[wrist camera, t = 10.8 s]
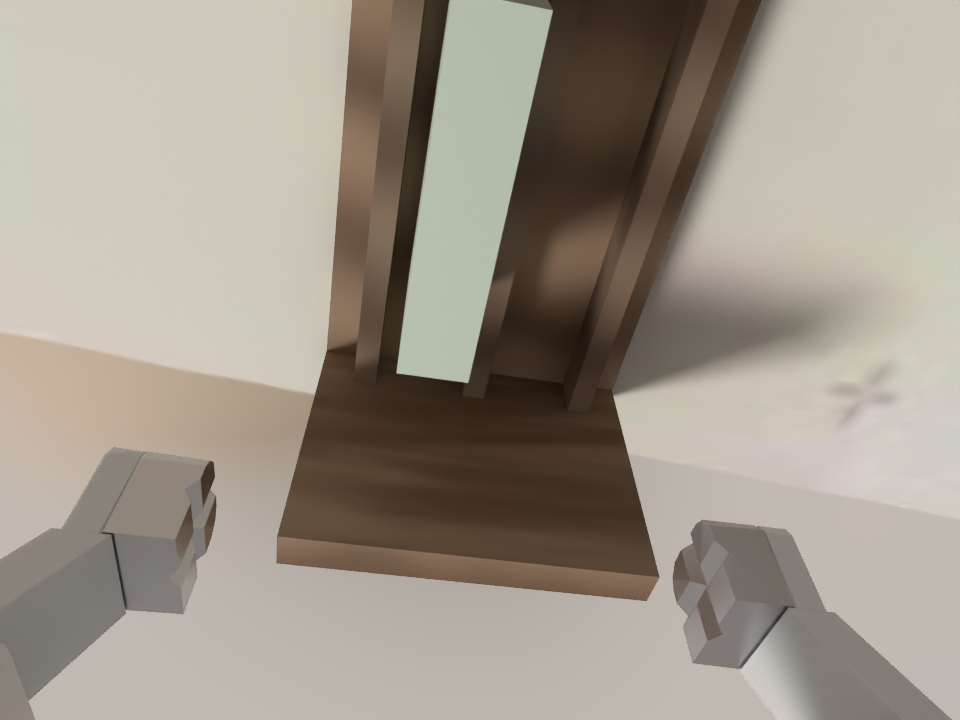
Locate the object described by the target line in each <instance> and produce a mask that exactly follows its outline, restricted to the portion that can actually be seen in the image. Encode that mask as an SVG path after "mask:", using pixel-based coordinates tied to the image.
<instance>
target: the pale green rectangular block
mask: <svg viewBox="0 0 960 720" xmlns="http://www.w3.org/2000/svg"><path fill="white" fill-rule="evenodd" d="M552 12H553V10H552V7H551V5H550V3H549V1H548V0H449V4H448V11H447V17H446V24H445V31H444V38H443V45H442V52H441V58H440V65H439V72H438V79H437V86H436V93H435V99H434V106H433V113H432V120H431V127H430V134H429V140H428V147H427V154H426V161H425V168H424V175H423V181H422V188H421V195H420V202H419V209H418V216H417V222H416V229H415V236H414V243H413V250H412V257H411V264H410V272H409V279H408V287H407V295H406V303H405V310H404V318H403V326H402V334H401V341H400V349H399V357H398V364H397V372H396V373H399V374H406V375H413V376H421V377H428V378H435V379H442V380H450V381H457V382H464V383H468V382H469V378H470V373H471V369H472V364H473V360H474V356H475V351H476V347H477V342H478V338H479V334H480V329H481V325H482V320H483V316H484V312H485V307H486V303H487V298H488V294H489V290H490V285H491V281H492V276H493V272H494V268H495V263H496V259H497V254H498V250H499V246H500V241H501V237H502V232H503V228H504V224H505V219H506V215H507V210H508V206H509V202H510V197H511V193H512V188H513V184H514V180H515V175H516V171H517V166H518V162H519V158H520V153H521V149H522V144H523V140H524V135H525V131H526V127H527V122H528V118H529V113H530V109H531V105H532V100H533V96H534V91H535V87H536V83H537V78H538V74H539V69H540V65H541V61H542V56H543V52H544V47H545V43H546V39H547V34H548V30H549V25H550V21H551V17H552Z"/></svg>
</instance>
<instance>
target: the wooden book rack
mask: <svg viewBox="0 0 960 720" xmlns="http://www.w3.org/2000/svg"><path fill="white" fill-rule="evenodd" d="M548 1H549V3H550V5H551V7H552V10H553V12H552V17H551V21H550V25H549V30H548V34H547V39H546V43H545V47H544V52H543V56H542V61H541V65H540V69H539V74H538V78H537V83H536V87H535V91H534V96H533V100H532V105H531V109H530V113H529V118H528V122H527V127H526V131H525V135H524V140H523V144H522V149H521V153H520V158H519V162H518V166H517V171H516V175H515V180H514V184H513V188H512V193H511V197H510V202H509V206H508V210H507V215H506V219H505V224H504V228H503V232H502V237H501V241H500V246H499V250H498V254H497V259H496V263H495V268H494V272H493V276H492V281H491V285H490V290H489V294H488V298H487V303H486V307H485V312H484V316H483V320H482V325H481V329H480V334H479V338H478V342H477V347H476V351H475V356H474V360H473V364H472V369H471V373H470V378H469V382H468V383H464V382H457V381H450V380H442V379H435V378H428V377H421V376H413V375H406V374H399V373H396V372H397V364H398V357H399V349H400V341H401V334H402V326H403V318H404V310H405V303H406V295H407V287H408V279H409V272H410V264H411V257H412V250H413V243H414V236H415V229H416V222H417V216H418V209H419V202H420V195H421V188H422V181H423V175H424V168H425V161H426V154H427V147H428V140H429V134H430V127H431V120H432V113H433V106H434V99H435V93H436V86H437V79H438V72H439V65H440V58H441V52H442V45H443V38H444V31H445V24H446V17H447V11H448V4H449V0H352V13H351V27H350V41H349V55H348V68H347V82H346V96H345V109H344V123H343V137H342V151H341V164H340V178H339V192H338V206H337V219H336V233H335V247H334V260H333V274H332V288H331V302H330V315H329V329H328V343H327V352H326V356H325V360H324V363H323V367H322V371H321V375H320V378H319V382H318V386H317V390H316V393H315V397H314V401H313V405H312V408H311V412H310V416H309V420H308V423H307V428H306V431H305V435H304V438H303V442H302V446H301V450H300V453H299V457H298V461H297V464H296V468H295V472H294V476H293V479H292V483H291V487H290V491H289V494H288V498H287V502H286V506H285V510H284V513H283V517H282V521H281V525H280V528H279V532H278V536H277V563H280V564H290V565H299V566H309V567H319V568H329V569H338V570H349V571H359V572H368V573H378V574H388V575H397V576H408V577H417V578H426V579H436V580H447V581H456V582H466V583H475V584H485V585H495V586H505V587H514V588H524V589H534V590H544V591H554V592H563V593H573V594H583V595H593V596H603V597H612V598H623V599H633V600H642V601H647V599H648V597H649V596H650V594H651V592H652V590H653V588H654V586H655V585H656V583H657V581H658V579H659V574H658V570H657V566H656V562H655V558H654V554H653V550H652V546H651V542H650V538H649V535H648V531H647V527H646V523H645V519H644V515H643V511H642V508H641V503H640V499H639V495H638V492H637V488H636V484H635V480H634V476H633V472H632V468H631V464H630V460H629V456H628V453H627V449H626V445H625V441H624V437H623V433H622V429H621V425H620V421H619V417H618V414H617V410H616V406H615V402H614V398H613V394H612V388H613V385H614V383H615V380H616V377H617V375H618V372H619V369H620V367H621V364H622V362H623V359H624V356H625V354H626V351H627V349H628V346H629V343H630V341H631V338H632V336H633V333H634V330H635V328H636V325H637V323H638V320H639V317H640V315H641V312H642V310H643V307H644V304H645V302H646V299H647V297H648V294H649V291H650V289H651V286H652V284H653V281H654V278H655V276H656V273H657V270H658V268H659V265H660V263H661V260H662V257H663V255H664V252H665V250H666V247H667V244H668V242H669V239H670V237H671V234H672V231H673V229H674V226H675V224H676V221H677V218H678V216H679V213H680V211H681V208H682V205H683V203H684V200H685V198H686V195H687V192H688V190H689V187H690V184H691V182H692V179H693V177H694V174H695V171H696V169H697V166H698V164H699V161H700V158H701V156H702V153H703V151H704V148H705V145H706V143H707V140H708V138H709V135H710V132H711V130H712V127H713V125H714V122H715V119H716V117H717V114H718V112H719V109H720V106H721V104H722V101H723V98H724V96H725V93H726V91H727V88H728V85H729V83H730V80H731V78H732V75H733V72H734V70H735V67H736V65H737V62H738V59H739V57H740V54H741V52H742V49H743V46H744V44H745V41H746V39H747V36H748V33H749V31H750V28H751V26H752V23H753V20H754V18H755V15H756V12H757V10H758V7H759V5H760V2H761V0H548Z"/></svg>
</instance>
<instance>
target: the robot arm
mask: <svg viewBox="0 0 960 720" xmlns="http://www.w3.org/2000/svg"><path fill="white" fill-rule="evenodd" d="M214 478H215V472H214V463H213V462H212V461H208V460H202V459H194V458H188V457H181V456H174V455H167V454H160V453H153V452H144V451H137V450H130V449H122V448H116V447H113V448H112V449H111V450H110V451H108V452H107V453H106V454H105V455H104V457H103V459H102V460H101V462H100V464H99V465H98V467H97V469H96V471H95V472H94V474H93V476H92V478H91V479H90V481H89V483H88V485H87V486H86V488H85V490H84V491H83V493H82V495H81V497H80V498H79V500H78V502H77V503H76V505H75V507H74V509H73V510H72V512H71V514H70V515H69V517H68V519H67V521H66V522H65V524H64V526H63V528H62V529H55V528H51V529H49V530H47V531H46V532H44V533H43V534H41V535H39V536H38V537H36V538H34V539H33V540H31V541H29V542H28V543H26V544H25V545H23V546H21V547H20V548H18V549H16V550H15V551H13V552H12V553H10V554H8V555H7V556H5V557H3V558H2V559H0V720H35V718H34V715H33V712H32V710H31V707H30V704H29V702H28V701H29V700H30V699H31V698H32V697H33V696H34V695H35V694H37V692H39V691H40V690H41V689H42V688H43V687H44V686H46V684H48V683H49V682H50V681H51V680H52V679H53V678H54V677H56V676H57V675H58V674H59V673H60V672H61V671H62V670H63V669H64V668H66V667H67V666H68V665H69V664H70V663H71V662H72V661H73V660H75V659H76V658H77V657H78V656H79V655H80V654H81V653H82V652H83V651H85V650H86V649H87V648H88V647H89V646H90V645H91V644H92V643H94V641H96V639H98V638H99V637H100V636H101V635H102V634H104V633H105V632H106V631H107V630H108V629H109V628H110V627H111V626H112V625H113V624H115V623H116V622H117V621H118V620H119V619H120V618H121V617H123V616H124V615H125V614H126V610H133V611H148V612H162V613H176V614H184V611H185V609H186V606H187V603H188V600H189V598H190V595H191V592H192V590H193V587H194V584H195V582H196V579H197V568H196V560H197V559H199V558H200V557H201V556H203V555H204V554H205V553H206V551H207V548H208V545H209V542H210V539H211V536H212V532H213V527H214V522H215V516H216V495H214V493H212V491H211V490H210V488H211V486H212V483H213V481H214ZM691 536H692V540H693V544H691V545H689V546H687V547H686V548H684V549H682V550H681V552H680V553H679V556H678V558H677V560H676V561H675V566H674V572H673V587H674V594H675V598H676V602H677V604H678V605H679V606H680V607H681V608H682V609H683V611H684V612H685V613H686V614H687V615H688V618H687V620H686V622H685V624H684V626H683V628H684V632H685V636H686V640H687V644H688V647H689V651H690V655H691V659H692V662H693V663H696V664H704V665H712V666H721V667H728V668H736V669H741V670H740V673H741V674H742V675H743V677H744V678H745V679H746V680H747V682H748V683H749V684H750V686H751V687H752V688H753V689H754V691H755V692H756V693H757V695H758V696H759V697H760V699H761V700H762V701H763V703H764V704H765V705H766V706H767V708H768V709H769V710H770V711H771V713H772V714H773V716H774V717H775V718H776V719H777V720H952V719H950V718H949V717H948V716H947V715H946V714H945V713H944V712H943V711H942V710H940V709H939V708H938V707H937V706H936V705H935V704H934V703H933V702H932V701H931V700H930V699H929V698H928V697H926V696H925V695H924V694H923V693H922V692H921V691H920V690H919V689H917V687H915V686H914V685H913V684H912V683H911V682H910V681H909V680H908V679H907V678H905V677H904V676H903V675H902V674H901V673H900V672H899V671H898V670H897V669H896V668H895V667H894V666H892V665H891V664H890V663H889V662H888V661H887V660H886V659H885V658H884V657H883V656H881V655H880V654H879V653H878V652H877V651H876V650H875V649H874V648H873V647H872V646H871V645H870V644H868V643H867V642H866V641H865V640H864V639H863V638H862V637H861V636H860V635H858V634H857V633H856V632H855V631H854V630H853V629H852V628H851V627H850V626H849V625H848V624H846V623H845V622H844V621H843V620H842V619H841V618H840V617H839V616H838V615H837V614H836V613H833V612H827V611H826V609H825V607H824V606H823V603H822V600H821V598H820V596H819V594H818V592H817V589H816V587H815V585H814V583H813V581H812V578H811V576H810V574H809V572H808V570H807V567H806V565H805V563H804V561H803V559H802V557H801V554H800V552H799V550H798V548H797V545H796V543H795V541H794V539H793V537H792V535H791V534H790V533H789V532H788V531H787V530H785V529H777V528H769V527H760V526H758V527H756V526H753V525H745V524H736V523H726V522H718V521H708V520H701V521H700V522H698V523H697V524H696V525H695V527H694V529H693V531H692V532H691Z"/></svg>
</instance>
